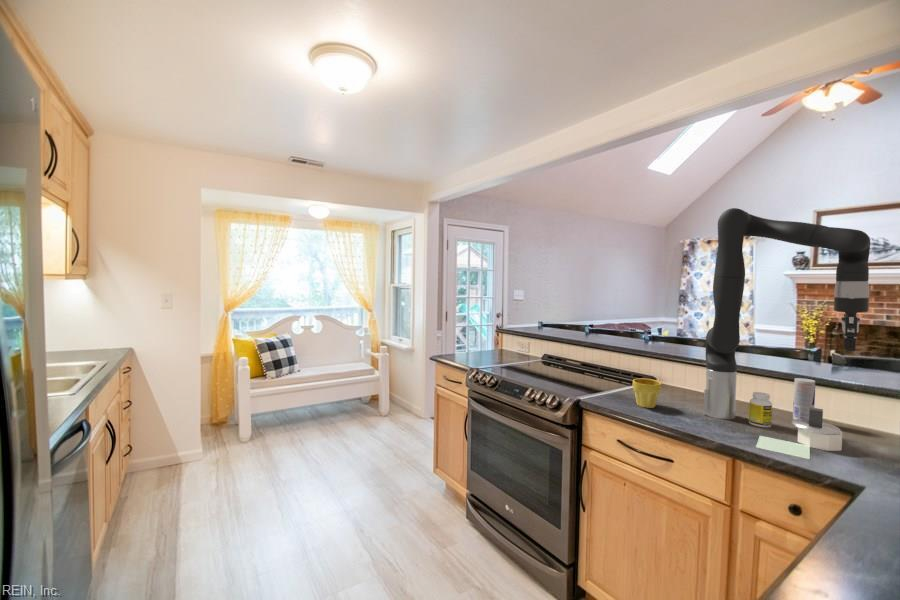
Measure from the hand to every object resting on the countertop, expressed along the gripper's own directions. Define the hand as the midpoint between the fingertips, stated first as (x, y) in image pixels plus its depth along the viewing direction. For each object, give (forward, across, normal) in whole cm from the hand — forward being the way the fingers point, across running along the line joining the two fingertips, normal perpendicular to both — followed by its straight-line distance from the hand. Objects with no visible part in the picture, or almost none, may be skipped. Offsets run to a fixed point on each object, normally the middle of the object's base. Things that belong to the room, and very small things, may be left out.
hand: (849, 348), depth 123 cm
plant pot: (+29, +4, -57) cm, 64 cm away
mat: (+29, +19, -14) cm, 37 cm away
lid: (+24, +9, -7) cm, 27 cm away
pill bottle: (+29, 0, -21) cm, 36 cm away
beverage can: (+29, -15, -11) cm, 35 cm away
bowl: (+29, +9, -6) cm, 31 cm away
